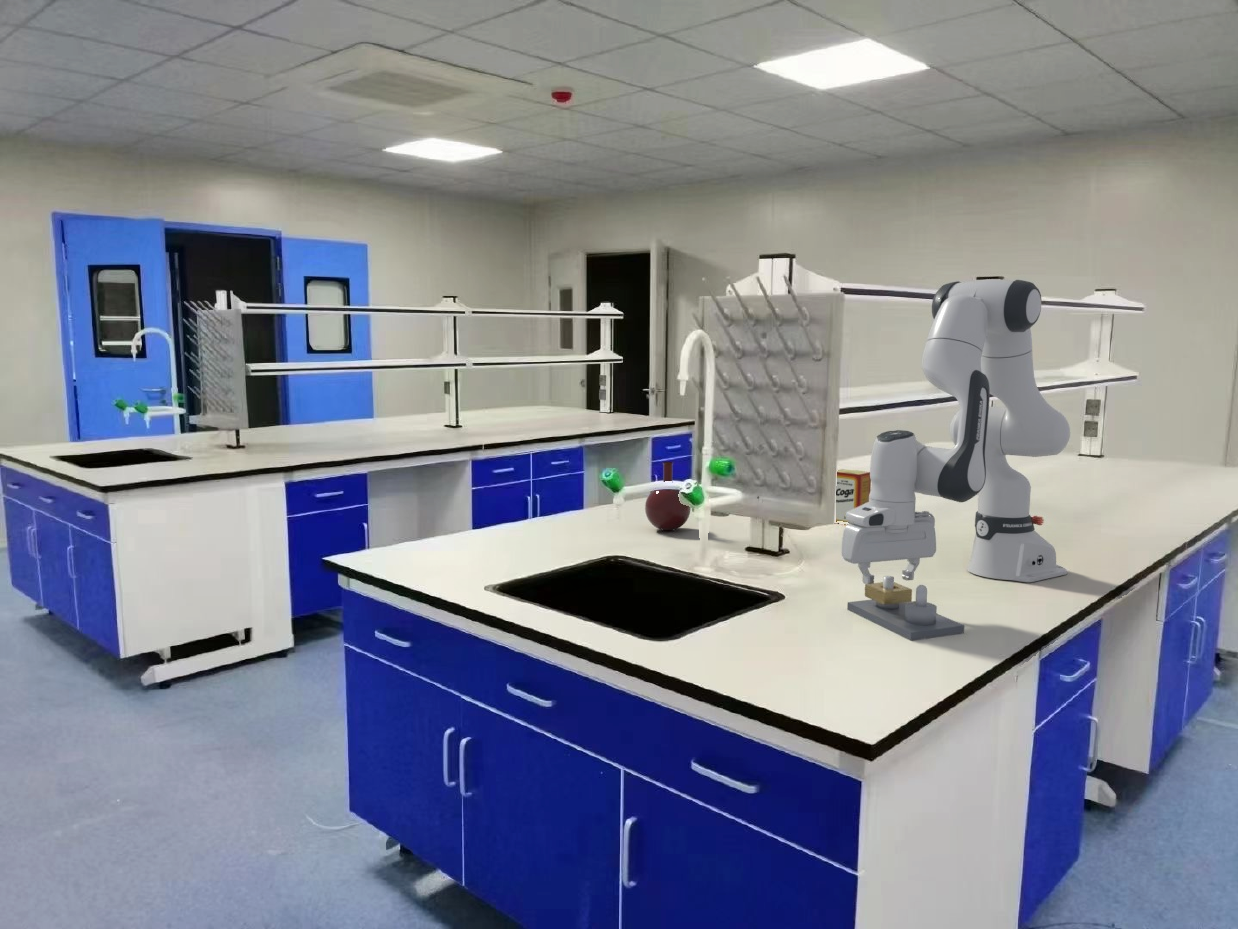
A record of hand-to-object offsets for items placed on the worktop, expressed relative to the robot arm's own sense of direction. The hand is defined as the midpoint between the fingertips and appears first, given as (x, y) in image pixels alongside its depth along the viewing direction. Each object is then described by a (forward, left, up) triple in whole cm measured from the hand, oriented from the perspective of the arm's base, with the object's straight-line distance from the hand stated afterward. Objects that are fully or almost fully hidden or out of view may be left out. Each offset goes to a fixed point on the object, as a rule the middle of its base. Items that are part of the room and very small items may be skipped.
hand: (888, 581), depth 174 cm
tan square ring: (0, 0, -4) cm, 4 cm away
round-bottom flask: (+11, -88, -7) cm, 89 cm away
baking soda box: (-44, -78, -7) cm, 90 cm away
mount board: (0, +5, -7) cm, 8 cm away
